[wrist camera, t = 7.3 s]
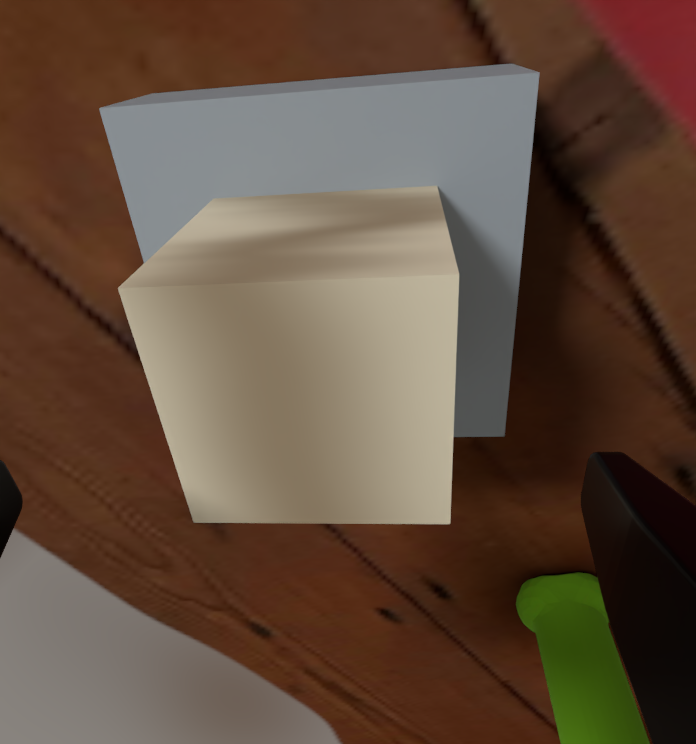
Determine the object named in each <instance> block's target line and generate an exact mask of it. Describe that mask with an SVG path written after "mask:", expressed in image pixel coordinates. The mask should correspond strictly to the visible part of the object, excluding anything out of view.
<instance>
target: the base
mask: <svg viewBox="0 0 696 744" xmlns="http://www.w3.org/2000/svg"><path fill="white" fill-rule="evenodd" d="M539 73H540V72H537V71H533V70H530V69H527V68H524V67H521V66H518V65H515V64H501V65H489V66H477V67H465V68H453V69H441V70H429V71H417V72H405V73H393V74H381V75H369V76H357V77H345V78H333V79H321V80H309V81H297V82H285V83H273V84H261V85H249V86H237V87H225V88H213V89H201V90H189V91H177V92H165V93H153V94H149V95H146V96H142V97H138V98H135V99H131V100H127V101H124V102H120V103H116V104H113V105H109V106H105V107H102V108H99V110H100V113H101V117H102V120H103V124H104V127H105V130H106V134H107V137H108V141H109V144H110V148H111V151H112V154H113V158H114V161H115V165H116V168H117V172H118V175H119V178H120V182H121V185H122V189H123V192H124V196H125V199H126V202H127V206H128V209H129V213H130V216H131V220H132V223H133V226H134V230H135V233H136V237H137V240H138V244H139V247H140V250H141V254H142V257H143V261H144V263H145V262H146V261H147V260H148V259H150V258H151V257H152V256H153V255H154V254H155V253H156V252H157V251H158V250H159V249H160V248H161V247H162V246H163V245H164V244H166V243H167V242H168V241H169V240H170V239H171V238H172V237H173V236H174V235H175V234H176V233H177V232H178V231H179V230H181V229H182V228H183V227H184V226H185V225H186V224H187V223H188V222H189V221H190V220H191V219H192V218H193V217H194V216H195V215H197V214H198V213H199V212H200V211H201V210H202V209H203V208H204V207H205V206H206V205H207V204H208V203H209V202H210V201H212V200H213V199H215V198H233V197H250V196H267V195H284V194H302V193H319V192H336V191H354V190H371V189H388V188H405V187H423V186H437V187H438V191H439V195H440V199H441V203H442V207H443V211H444V215H445V219H446V223H447V227H448V231H449V235H450V239H451V243H452V247H453V251H454V255H455V259H456V263H457V267H458V271H459V297H458V324H457V352H456V380H455V407H454V435H453V437H502V436H505V426H506V416H507V405H508V395H509V385H510V374H511V364H512V353H513V343H514V333H515V322H516V312H517V301H518V291H519V281H520V270H521V260H522V249H523V239H524V229H525V218H526V208H527V198H528V187H529V177H530V166H531V156H532V146H533V135H534V125H535V114H536V104H537V94H538V83H539Z"/></svg>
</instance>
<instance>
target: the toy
mask: <svg viewBox="0 0 696 744" xmlns="http://www.w3.org/2000/svg"><path fill="white" fill-rule="evenodd" d="M516 608H517V612H518V615H519V617H520V619H521V621H522V622H523V624H524V625H526V626H527V627H528V628H529V629H530V630H531V631H533V632H535V633H536V637H537V641H538V646H539V650H540V654H541V659H542V663H543V668H544V672H545V676H546V681H547V685H548V689H549V694H550V698H551V703H552V707H553V711H554V716H555V720H556V724H557V729H558V733H559V738H560V742H561V744H650V742H649V740H648V737H647V734H646V731H645V728H644V725H643V723H642V720H641V717H640V714H639V711H638V708H637V706H636V703H635V700H634V697H633V694H632V691H631V688H630V686H629V683H628V680H627V677H626V674H625V671H624V669H623V666H622V663H621V660H620V657H619V654H618V652H617V649H616V646H615V643H614V640H613V637H612V635H611V632H610V629H609V626H608V623H609V619H608V616H607V613H606V610H605V606H604V602H603V598H602V594H601V590H600V586H599V582H598V577H595V576H593V575H591V574H588V573H580V572H577V573H569V574H562V575H548V576H539V577H536V578H532V579H529V580H527V581H526V582H525V583H523V584H522V586H521V589H520V591H519V593H518V596H517V600H516Z"/></svg>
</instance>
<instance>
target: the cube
mask: <svg viewBox="0 0 696 744" xmlns="http://www.w3.org/2000/svg"><path fill="white" fill-rule="evenodd" d="M118 290H119V294H120V297H121V300H122V303H123V306H124V309H125V312H126V315H127V318H128V321H129V324H130V327H131V331H132V334H133V337H134V340H135V343H136V346H137V349H138V352H139V355H140V358H141V361H142V364H143V368H144V371H145V374H146V377H147V380H148V383H149V386H150V389H151V392H152V395H153V398H154V401H155V405H156V408H157V411H158V414H159V417H160V420H161V423H162V426H163V429H164V432H165V435H166V438H167V442H168V445H169V448H170V451H171V454H172V457H173V460H174V463H175V466H176V469H177V472H178V476H179V479H180V482H181V485H182V488H183V491H184V494H185V497H186V500H187V503H188V506H189V509H190V513H191V516H192V519H193V522H194V523H338V524H450V518H451V490H452V463H453V435H454V407H455V380H456V352H457V324H458V297H459V271H458V267H457V263H456V259H455V255H454V251H453V247H452V243H451V239H450V235H449V231H448V227H447V223H446V219H445V215H444V211H443V207H442V203H441V199H440V195H439V191H438V187H437V186H423V187H405V188H388V189H371V190H354V191H336V192H319V193H302V194H284V195H267V196H250V197H233V198H215V199H213V200H212V201H210V202H209V203H208V204H207V205H206V206H205V207H204V208H203V209H202V210H201V211H200V212H199V213H198V214H197V215H195V216H194V217H193V218H192V219H191V220H190V221H189V222H188V223H187V224H186V225H185V226H184V227H183V228H182V229H181V230H179V231H178V232H177V233H176V234H175V235H174V236H173V237H172V238H171V239H170V240H169V241H168V242H167V243H166V244H164V245H163V246H162V247H161V248H160V249H159V250H158V251H157V252H156V253H155V254H154V255H153V256H152V257H151V258H150V259H148V260H147V261H146V262H145V263H144V264H143V265H142V266H141V267H140V268H139V269H138V270H137V271H136V272H135V273H133V274H132V275H131V276H130V277H129V278H128V279H127V280H126V281H125V282H124V283H123V284H122V285H121V286H120V287H119V288H118Z"/></svg>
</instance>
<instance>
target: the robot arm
mask: <svg viewBox="0 0 696 744" xmlns="http://www.w3.org/2000/svg"><path fill="white" fill-rule="evenodd" d="M581 508H582V513H583V518H584V522H585V526H586V530H587V535H588V539H589V543H590V547H591V552H592V556H593V560H594V564H595V569H596V573H597V577H598V582H599V586H600V590H601V594H602V598H603V602H604V606H605V610H606V613H607V616H608V619H609V622H610V625H611V628H612V631H613V634H614V637H615V639H616V642H617V645H618V648H619V651H620V653H621V656H622V659H623V662H624V664H625V667H626V670H627V673H628V676H629V678H630V681H631V684H632V687H633V690H634V692H635V695H636V698H637V701H638V703H639V706H640V709H641V712H642V715H643V717H644V720H645V723H646V726H647V729H648V731H649V734H650V737H651V740H652V742H653V744H696V505H694V504H693V503H691V502H690V501H689V500H687V499H686V498H685V497H683V496H682V495H681V494H679V493H678V492H676V491H675V490H674V489H672V488H671V487H670V486H668V485H667V484H666V483H664V482H663V481H661V480H660V479H659V478H657V477H656V476H655V475H653V474H652V473H650V472H649V471H648V470H646V469H645V468H644V467H642V466H641V465H640V464H638V463H637V462H635V461H634V460H633V459H631V458H630V457H629V456H627V455H626V454H624V453H621V452H595V453H593V454H591V455H590V457H589V459H588V463H587V468H586V473H585V478H584V483H583V487H582V492H581ZM21 509H22V495H21V493H20V491H19V489H18V487H17V485H16V483H15V481H14V480H13V478H12V476H11V474H10V472H9V470H8V469H7V467H6V465H5V464H4V462H2V461H1V460H0V557H1V555H2V553H3V551H4V548H5V546H6V544H7V542H8V539H9V537H10V535H11V532H12V530H13V528H14V526H15V523H16V521H17V519H18V516H19V514H20V512H21Z"/></svg>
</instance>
